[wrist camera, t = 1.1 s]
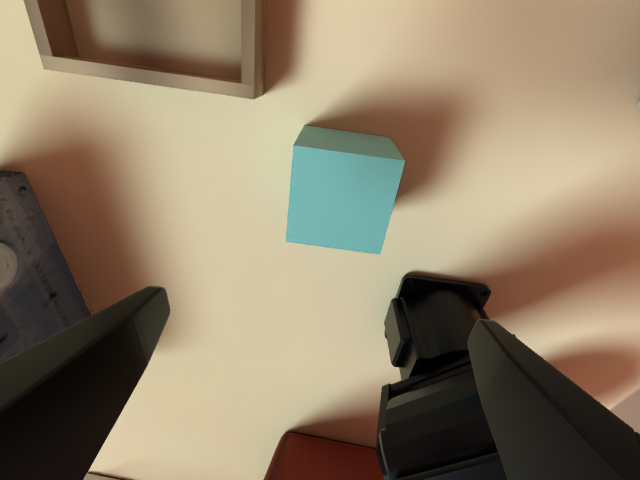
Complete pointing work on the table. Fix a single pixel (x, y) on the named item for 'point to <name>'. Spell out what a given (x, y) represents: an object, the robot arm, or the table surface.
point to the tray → (156, 42)
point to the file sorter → (97, 477)
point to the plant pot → (322, 460)
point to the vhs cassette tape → (31, 273)
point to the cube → (342, 189)
